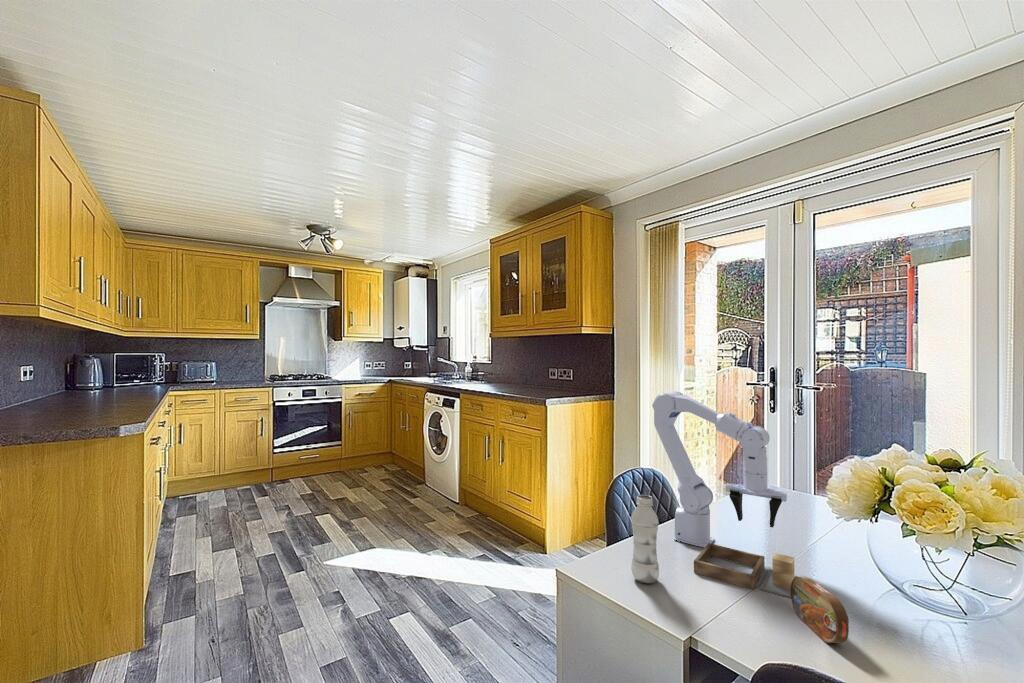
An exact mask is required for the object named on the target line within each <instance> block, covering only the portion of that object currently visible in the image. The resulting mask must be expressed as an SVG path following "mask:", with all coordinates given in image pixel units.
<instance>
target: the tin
mask: <svg viewBox="0 0 1024 683" xmlns="http://www.w3.org/2000/svg"><path fill="white" fill-rule="evenodd" d="M801 577H802V576H798V577H795V578H794V579H793V580H792V583H791V587H790V595H791V598H790V600H791V604H792V605H791V606H792V608H793V609H794V612H795V614H796V615H797V617H798V618H799V619H800V620H801V621H802V622H803V624H805V625H806V626H807V627H808V628H809V629H811V631H813V633H814V634H816V635H817V637H819V638H820V639H821V640H822V641H823V642H825V643H827V644H843V643H845V642H846V641H847V640H848V638H849V626H850V625H849V622H850V620H849V616H848V613H847V610H846V608H845V607H844V604H842V602H841V601H840V600H839V599H838V598H837V596H835V595H833V594H832V593H831V592H830V591H829V590H827V589H826V588H825V587H823V586H822V585H821V584H819V583H818V582H817V581H815V580H814V579H812V578H809V577H802V578H801Z"/></svg>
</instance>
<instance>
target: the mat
mask: <svg viewBox="0 0 1024 683" xmlns="http://www.w3.org/2000/svg"><path fill="white" fill-rule="evenodd" d="M794 577H799V576H797V575H794ZM800 577H801V578H803V577H802V576H800ZM760 591H763V592H767V593H770V594H774V595H778V596H781V597H784V598H788V599H791V595H790V589H788V588H784V587H780V586H776V585H773V569H768V571H767V573H766V575H765V578H764V580H763V582H762V584H761V587H760Z"/></svg>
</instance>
